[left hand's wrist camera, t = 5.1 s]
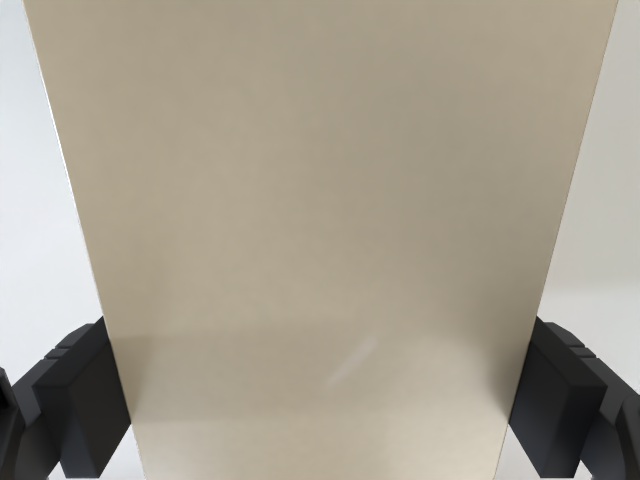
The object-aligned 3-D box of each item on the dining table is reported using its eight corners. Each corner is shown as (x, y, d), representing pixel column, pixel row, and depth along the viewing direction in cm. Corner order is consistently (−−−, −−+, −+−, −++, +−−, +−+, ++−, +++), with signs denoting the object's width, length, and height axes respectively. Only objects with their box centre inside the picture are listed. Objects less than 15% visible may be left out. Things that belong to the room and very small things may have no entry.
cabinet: (183, -172, 13) (-258, -1053, 3) (456, -172, 13) (896, -1057, 3) (232, 302, 20) (147, 493, 10) (407, 302, 20) (491, 493, 10)
